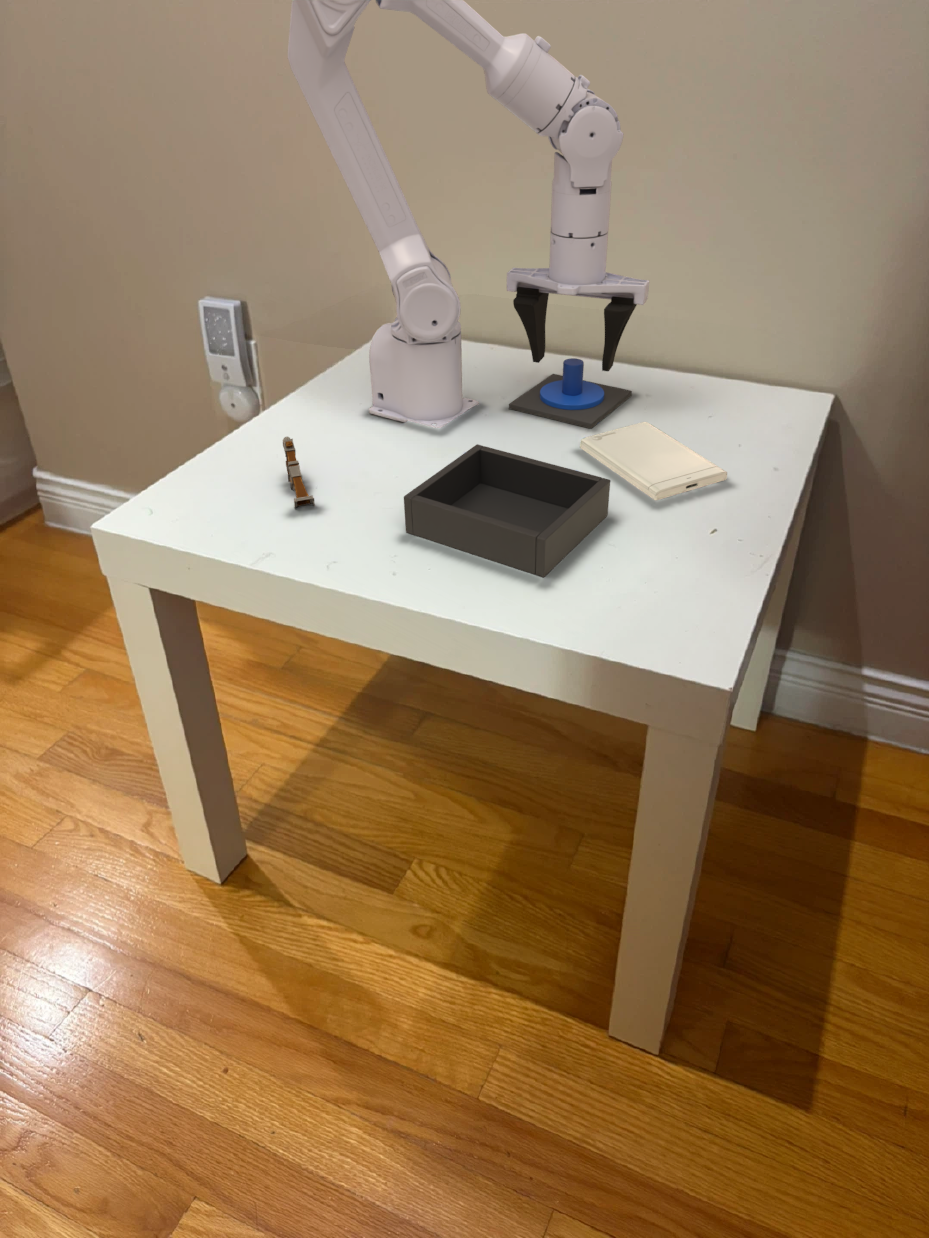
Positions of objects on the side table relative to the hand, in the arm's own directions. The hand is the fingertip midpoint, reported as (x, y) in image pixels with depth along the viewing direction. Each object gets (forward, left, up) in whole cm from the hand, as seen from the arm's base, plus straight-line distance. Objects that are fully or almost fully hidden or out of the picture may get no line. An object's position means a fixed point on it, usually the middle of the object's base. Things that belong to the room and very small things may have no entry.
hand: (572, 363), depth 103 cm
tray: (+8, -27, -4) cm, 29 cm away
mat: (0, 0, -4) cm, 4 cm away
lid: (0, 0, -4) cm, 4 cm away
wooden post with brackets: (-12, -32, -5) cm, 34 cm away
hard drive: (+14, -10, -5) cm, 18 cm away
